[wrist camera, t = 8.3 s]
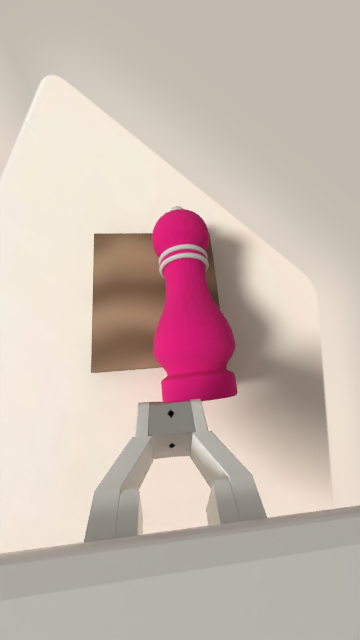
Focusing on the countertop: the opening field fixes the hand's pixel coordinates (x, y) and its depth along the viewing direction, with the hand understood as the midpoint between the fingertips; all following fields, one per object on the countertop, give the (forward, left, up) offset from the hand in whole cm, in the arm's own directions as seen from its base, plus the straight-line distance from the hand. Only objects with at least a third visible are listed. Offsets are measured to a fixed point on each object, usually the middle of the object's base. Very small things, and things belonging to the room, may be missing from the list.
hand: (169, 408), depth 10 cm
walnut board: (+10, 0, -13) cm, 16 cm away
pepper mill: (-1, -3, -7) cm, 8 cm away
